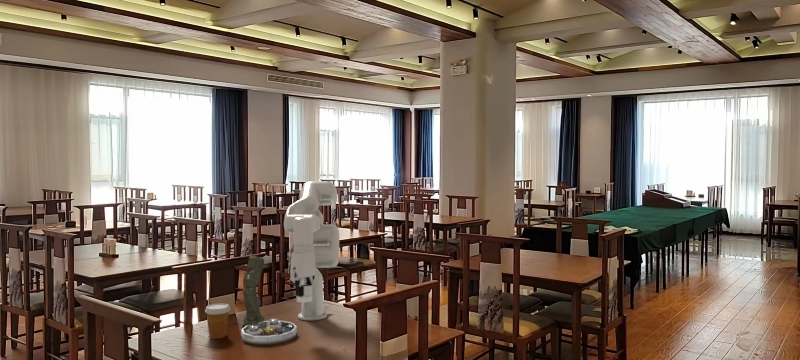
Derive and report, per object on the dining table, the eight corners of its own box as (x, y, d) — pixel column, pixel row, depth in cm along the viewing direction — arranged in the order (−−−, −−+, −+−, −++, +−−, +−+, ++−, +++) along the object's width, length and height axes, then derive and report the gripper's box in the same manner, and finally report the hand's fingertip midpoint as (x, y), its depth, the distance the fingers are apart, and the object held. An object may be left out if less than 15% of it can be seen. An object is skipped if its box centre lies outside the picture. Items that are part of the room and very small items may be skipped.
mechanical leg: (251, 329, 239) (257, 255, 244) (235, 328, 240) (241, 254, 246) (265, 327, 252) (271, 257, 258) (249, 326, 253) (256, 257, 259)
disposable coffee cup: (200, 338, 230) (199, 308, 230) (215, 331, 239) (215, 302, 238) (220, 340, 227) (219, 310, 226) (235, 333, 236) (234, 304, 235)
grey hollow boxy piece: (304, 297, 234) (303, 283, 234) (315, 300, 231) (314, 285, 231) (293, 301, 229) (293, 286, 229) (304, 303, 226) (304, 287, 226)
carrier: (271, 325, 247) (271, 314, 247) (307, 334, 235) (307, 322, 235) (230, 338, 230) (230, 326, 230) (267, 348, 218) (266, 335, 218)
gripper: (311, 244, 238) (311, 289, 239) (280, 250, 224) (281, 297, 225) (325, 246, 234) (325, 291, 235) (294, 252, 220) (295, 300, 221)
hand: (304, 294), depth 230 cm, fingers closed on grey hollow boxy piece, 4 cm apart
